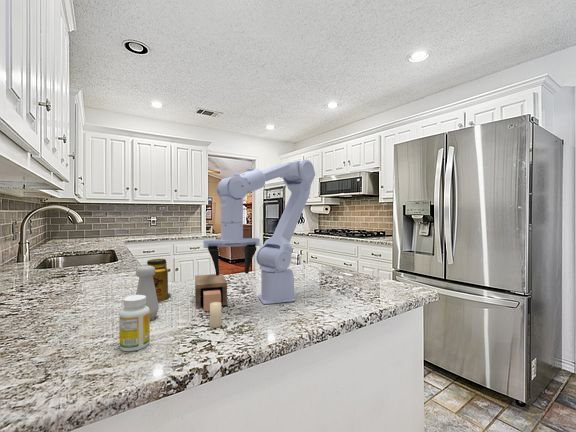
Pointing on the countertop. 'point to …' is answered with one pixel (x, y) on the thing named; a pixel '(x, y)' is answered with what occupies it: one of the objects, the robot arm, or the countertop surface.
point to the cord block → (213, 306)
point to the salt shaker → (148, 288)
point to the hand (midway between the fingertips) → (232, 273)
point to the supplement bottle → (134, 323)
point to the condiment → (160, 279)
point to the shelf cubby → (210, 286)
